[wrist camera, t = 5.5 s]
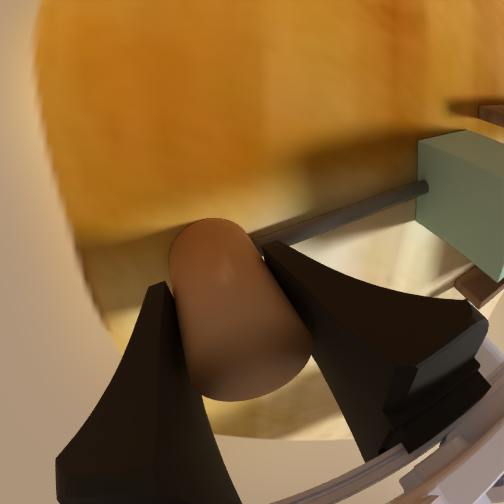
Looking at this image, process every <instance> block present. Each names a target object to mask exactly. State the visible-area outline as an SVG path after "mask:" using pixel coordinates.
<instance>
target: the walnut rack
mask: <svg viewBox="0 0 504 504" xmlns="http://www.w3.org/2000/svg"><path fill="white" fill-rule="evenodd" d="M479 119H481V120H484V121H487V122H490V123H493V124H496V125H498V126H501V127H504V104H503V105H485V106H479ZM454 288H456V289H457V290H458V291H459V292H460V293H461V294H462V295H463V296H464V297H466V298H467V299H468V300H469V301H470V302H471V303H472V304H473V305H474V306H475V307H476V308H477V309H478V310H479V309H480V308H481V307H483V306H484V305H485V304H486V303H488V302H489V301H490V300H491V299H492V298H494V297H495V296H496V295H497V294H498V293H499V292H500V291H502V290H503V289H504V278H503V279H501V280H500V281H499V282H498V283H497V282H496V281H495V280H493V279H492V278H491V277H490V276H489V275H487V274H486V273H485V272H484V271H482V270H481V269H480V268H479V267H477V266H476V267H474V268H473V269H472V270H470V271H469V272H467V273H466V274H464V275H463V276H461V277H460V278H458V279H457V280H456V283H455V286H454Z"/></svg>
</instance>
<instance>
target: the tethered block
mask: <svg viewBox="0 0 504 504" xmlns="http://www.w3.org/2000/svg"><path fill="white" fill-rule="evenodd" d="M416 197H417V204H416V219H415V221H416V222H418V223H419V224H421V225H422V226H424V227H425V228H427V229H428V230H429V231H431V232H432V233H434V234H435V235H436V236H438V237H439V238H441V239H442V240H443V241H445V242H446V243H447V244H449V245H450V246H452V247H453V248H454V249H456V250H457V251H458V252H460V253H461V254H462V255H463V256H465V257H466V258H467V259H469V260H470V261H471V262H472V263H474V264H475V265H476V266H477V267H479V268H480V269H481V270H482V271H484V272H485V273H486V274H487V275H489V276H490V277H491V278H492V279H493V280H495V281H496V282H497V283H498V282H499V281H500V280H501V279H503V278H504V144H503V143H500V142H498V141H496V140H493V139H491V138H488V137H486V136H483V135H480V134H478V133H475V132H472V131H469V130H464V131H459V132H454V133H449V134H445V135H440V136H436V137H431V138H427V139H423V140H418V181H417V182H414V183H411V184H408V185H405V186H403V187H400V188H397V189H394V190H391V191H388V192H386V193H383V194H380V195H377V196H374V197H371V198H369V199H366V200H363V201H360V202H357V203H355V204H352V205H349V206H346V207H343V208H340V209H338V210H335V211H332V212H329V213H327V214H324V215H321V216H318V217H315V218H313V219H310V220H307V221H304V222H302V223H299V224H296V225H293V226H291V227H288V228H285V229H282V230H280V231H277V232H274V233H271V234H269V235H266V236H263V237H260V238H258V239H255V240H252V241H251V239H250V237H249V236H248V234H247V233H246V232H245V230H244V229H243V228H242V227H240V226H239V225H238V224H236V223H234V222H232V221H229V220H226V219H219V218H210V219H204V220H201V221H198V222H195V223H193V224H191V225H189V226H188V227H186V228H185V229H184V230H182V231H181V232H180V233H179V234H178V236H177V237H176V238H175V240H174V241H173V243H172V245H171V248H170V251H169V257H168V261H169V269H170V276H171V283H172V289H173V295H174V301H175V307H176V313H177V319H178V324H179V330H180V335H181V340H182V345H183V350H184V355H185V360H186V365H187V369H188V374H189V378H190V382H191V384H192V386H193V387H194V389H195V390H196V391H197V392H199V393H200V394H201V395H203V396H205V397H207V398H210V399H213V400H218V401H227V402H234V401H244V400H249V399H254V398H257V397H260V396H263V395H266V394H268V393H271V392H273V391H275V390H277V389H279V388H280V387H282V386H284V385H285V384H287V383H288V382H289V381H291V380H292V379H293V378H294V377H296V376H297V375H298V374H299V373H300V372H301V370H302V369H303V368H304V367H305V365H306V364H307V362H308V360H309V358H310V356H311V353H312V349H313V340H312V337H311V335H310V333H309V331H308V329H307V328H306V326H305V325H304V323H303V321H302V320H301V318H300V317H299V315H298V314H297V312H296V310H295V309H294V307H293V306H292V304H291V302H290V301H289V299H288V298H287V296H286V294H285V293H284V291H283V290H282V288H281V286H280V285H279V283H278V282H277V280H276V279H275V277H274V275H273V274H272V272H271V271H270V269H269V267H268V266H267V264H266V263H265V261H264V260H263V258H262V256H263V252H262V248H261V246H262V245H265V244H268V243H270V242H273V241H276V240H279V241H281V242H283V243H284V244H286V245H288V246H290V245H293V244H296V243H298V242H301V241H304V240H306V239H309V238H311V237H314V236H317V235H319V234H322V233H325V232H327V231H330V230H332V229H335V228H338V227H340V226H343V225H346V224H348V223H351V222H353V221H356V220H359V219H361V218H364V217H366V216H369V215H372V214H374V213H377V212H379V211H382V210H385V209H387V208H390V207H392V206H395V205H398V204H400V203H403V202H405V201H408V200H410V199H413V198H416Z"/></svg>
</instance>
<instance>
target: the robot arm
mask: <svg viewBox="0 0 504 504" xmlns="http://www.w3.org/2000/svg"><path fill="white" fill-rule="evenodd" d="M261 248H262V252H263V256H264V260H265V263H266V264H267V266H268V267H269V269H270V271H271V272H272V274H273V275H274V277H275V279H276V280H277V282H278V283H279V285H280V286H281V288H282V290H283V291H284V293H285V294H286V296H287V298H288V299H289V301H290V302H291V304H292V306H293V307H294V309H295V310H296V312H297V314H298V315H299V317H300V318H301V320H302V321H303V323H304V325H305V326H306V328H307V329H308V331H309V333H310V335H311V337H312V340H313V349H312V353H311V355H312V357H313V358H314V360H315V362H316V363H317V365H318V367H319V368H320V370H321V372H322V374H323V376H324V378H325V380H326V382H327V384H328V386H329V388H330V389H331V391H332V393H333V395H334V397H335V399H336V401H337V403H338V405H339V407H340V409H341V411H342V414H343V416H344V418H345V420H346V422H347V424H348V426H349V428H350V430H351V432H352V435H353V437H354V439H355V441H356V443H357V445H358V448H359V450H360V452H361V455H362V457H363V459H364V461H365V464H363V465H361V466H359V467H357V468H355V469H353V470H351V471H349V472H347V473H346V474H343V475H341V476H339V477H337V478H335V479H332V480H330V481H328V482H326V483H323V484H321V485H319V486H316V487H314V488H312V489H309V490H307V491H304V492H302V493H299V494H297V495H294V496H291V497H288V498H286V499H283V500H280V501H277V502H274V503H271V504H335V503H337V502H339V501H342V500H344V499H346V498H348V497H350V496H352V495H354V494H356V493H358V492H360V491H362V490H364V489H366V488H368V487H370V486H371V485H373V484H376V483H377V482H379V481H381V480H383V479H384V478H386V477H388V476H390V475H391V474H393V473H395V472H396V471H398V470H400V469H401V468H403V467H404V466H406V465H407V464H409V463H411V462H412V461H414V460H415V459H417V458H418V457H420V456H421V455H422V454H424V453H426V452H427V451H428V450H430V449H431V448H433V447H434V446H435V445H437V444H438V443H439V442H440V446H439V448H438V449H437V450H436V451H435V452H433V453H432V454H431V455H429V456H428V457H427V458H425V459H424V460H423V461H421V462H420V463H418V464H417V465H416V466H414V468H413V469H412V470H411V471H410V472H409V473H407V474H406V475H405V476H403V477H402V478H401V479H400V480H399V482H400V484H401V486H402V487H403V489H404V493H403V494H401V495H400V496H398V497H396V498H395V499H393V500H391V501H389V502H388V503H386V504H492V503H498V502H504V354H503V353H502V352H501V351H500V350H499V349H498V348H497V347H496V345H494V343H493V342H492V341H491V340H490V339H489V338H488V337H487V336H486V334H487V332H488V327H489V323H488V320H487V319H486V318H485V317H484V316H483V315H482V314H481V313H480V312H479V311H478V310H477V309H476V308H475V307H474V305H473V304H472V303H471V302H470V301H469V300H454V299H442V298H432V297H426V296H420V295H414V294H409V293H404V292H399V291H395V290H391V289H387V288H383V287H380V286H376V285H373V284H370V283H367V282H364V281H361V280H358V279H355V278H353V277H350V276H348V275H345V274H343V273H341V272H338V271H336V270H334V269H331V268H329V267H327V266H325V265H323V264H321V263H319V262H317V261H315V260H313V259H311V258H309V257H308V256H306V255H304V254H302V253H300V252H298V251H297V250H295V249H293V248H291V247H290V246H288V245H286V244H284V243H283V242H281V241H279V240H276V241H273V242H270V243H268V244H265V245H262V246H261ZM55 466H56V494H57V500H58V502H59V503H60V504H242V502H241V500H240V498H239V496H238V494H237V492H236V490H235V487H234V485H233V483H232V481H231V479H230V476H229V474H228V471H227V469H226V466H225V464H224V462H223V459H222V457H221V454H220V451H219V449H218V446H217V444H216V441H215V438H214V435H213V432H212V429H211V426H210V423H209V420H208V417H207V414H206V411H205V407H204V403H203V399H202V395H201V394H200V393H199V392H197V391H196V390H195V389H194V387H193V386H192V384H191V382H190V378H189V374H188V369H187V365H186V360H185V355H184V350H183V345H182V340H181V335H180V330H179V324H178V319H177V313H176V307H175V301H174V298H173V296H172V294H171V292H170V290H169V288H168V286H167V284H166V282H165V281H163V282H160V283H158V284H155V285H152V286H149V288H148V290H147V292H146V295H145V298H144V301H143V304H142V307H141V310H140V313H139V316H138V319H137V322H136V324H135V327H134V330H133V333H132V335H131V338H130V340H129V343H128V345H127V347H126V350H125V352H124V355H123V357H122V359H121V362H120V364H119V366H118V368H117V370H116V372H115V374H114V376H113V378H112V380H111V382H110V384H109V385H108V387H107V389H106V390H105V392H104V394H103V395H102V397H101V399H100V400H99V402H98V404H97V405H96V407H95V408H94V410H93V411H92V413H91V415H90V416H89V417H88V419H87V420H86V422H85V423H84V424H83V426H82V427H81V428H80V430H79V431H78V432H77V434H76V435H75V436H74V438H73V439H72V440H71V441H70V442H69V444H68V445H67V446H66V447H65V448H64V449H63V451H62V452H61V453H60V454H59V455H58V457H56V465H55Z"/></svg>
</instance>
